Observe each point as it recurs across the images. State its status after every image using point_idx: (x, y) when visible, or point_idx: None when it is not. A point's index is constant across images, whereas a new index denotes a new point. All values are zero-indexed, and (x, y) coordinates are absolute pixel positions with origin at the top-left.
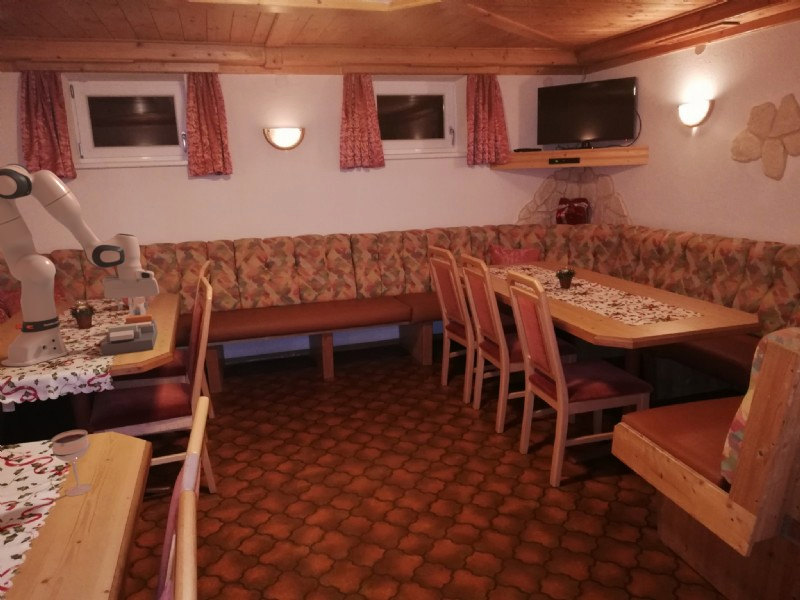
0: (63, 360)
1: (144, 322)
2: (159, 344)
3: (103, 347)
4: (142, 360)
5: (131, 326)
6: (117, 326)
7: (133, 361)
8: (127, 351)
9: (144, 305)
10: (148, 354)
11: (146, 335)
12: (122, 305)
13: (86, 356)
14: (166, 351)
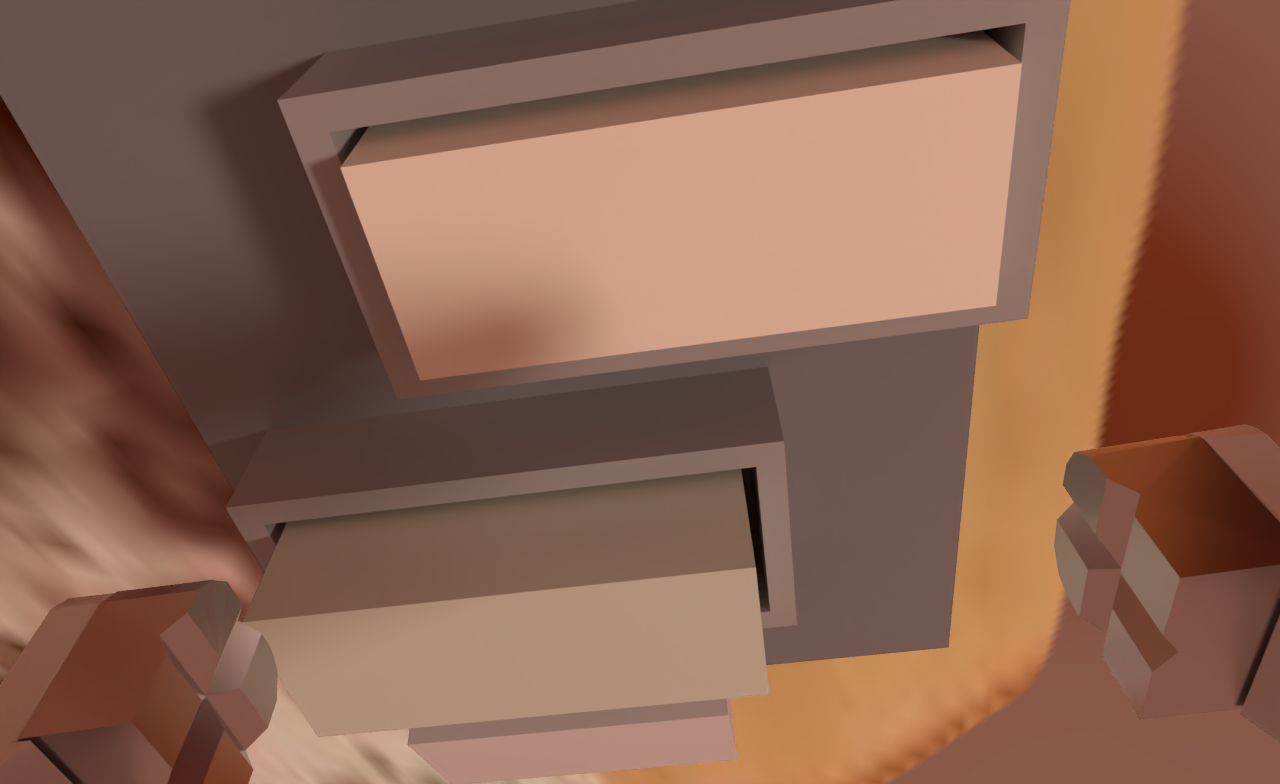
0: (33, 631)
1: (842, 127)
2: (990, 362)
3: None
4: (837, 776)
5: (690, 693)
6: (431, 674)
7: (765, 780)
8: None
9: (1121, 634)
10: (873, 667)
11: (863, 448)
12: (167, 681)
13: (207, 576)
14: (1049, 631)
